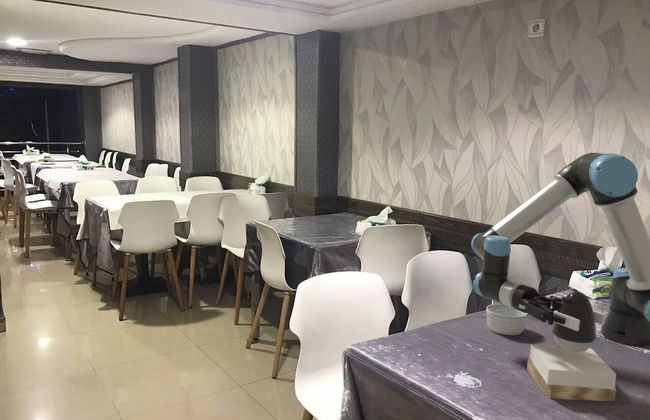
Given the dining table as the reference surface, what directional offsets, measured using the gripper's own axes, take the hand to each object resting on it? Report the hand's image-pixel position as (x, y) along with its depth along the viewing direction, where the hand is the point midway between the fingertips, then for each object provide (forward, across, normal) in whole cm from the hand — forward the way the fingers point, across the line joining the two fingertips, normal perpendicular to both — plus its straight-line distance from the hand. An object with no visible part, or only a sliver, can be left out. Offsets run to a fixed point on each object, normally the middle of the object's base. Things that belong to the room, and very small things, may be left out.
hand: (591, 322), depth 131 cm
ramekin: (-40, -16, -19) cm, 47 cm away
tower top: (-5, 0, -15) cm, 16 cm away
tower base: (-5, 0, -19) cm, 20 cm away
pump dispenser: (-4, 0, -9) cm, 10 cm away
